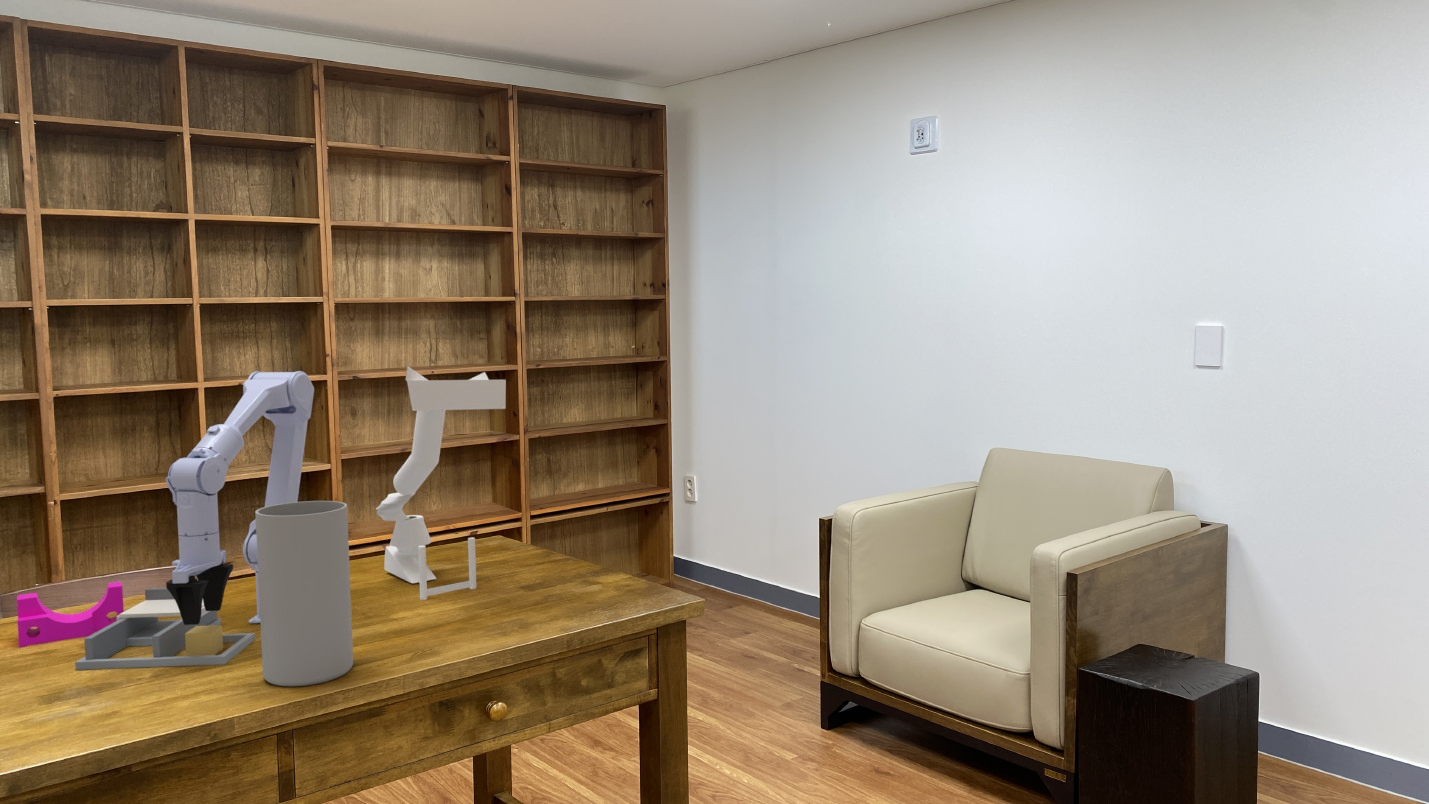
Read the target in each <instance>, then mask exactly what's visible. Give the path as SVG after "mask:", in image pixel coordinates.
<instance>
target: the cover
mask: <svg viewBox="0 0 1429 804" xmlns="http://www.w3.org/2000/svg"><path fill="white" fill-rule="evenodd" d="M144 596H145V600H144V601H141V602H140V603H138V604H135V605H134V606H131V607H130V608H128V609H126V610H124V612H123V613H121V614H119V615H118V616H117V621H118V620H119V619H121V618H136V617H158V618H159V617H161V618H162V617H164V618H165V617H181V614H180V611H179V608H178V605H177V603H176V601H175V599H174V597H173V596H172V594H171V593H170V592H169V590H168V589H167V588H166V587H148V588H146V589H144ZM208 612H210V611H206V610H205V607H204V602H203V600H202V610H201V617H202V616H204V615H205V614H207V613H208Z"/></svg>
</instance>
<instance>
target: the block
mask: <svg viewBox="0 0 1429 804" xmlns="http://www.w3.org/2000/svg"><path fill="white" fill-rule="evenodd" d="M223 634H224V633H223V625H222V624H220V625H212V626H196V627H194V628H193V629H191V630H190V631H188V632H187V633H185V643H186V647H185V656H203V655H218V653H219V652H220V651H222V650H223V649H224V643H223Z"/></svg>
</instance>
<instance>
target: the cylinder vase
mask: <svg viewBox="0 0 1429 804" xmlns="http://www.w3.org/2000/svg"><path fill="white" fill-rule="evenodd" d="M254 514H255V519H256V537H257V558H258V580H259V601H260V623H259V624H260V638H261V639H260V640H261V660H262V661H261V663H262V665H261V666H262V675H263V679H264V680H265V681H267V682H268V683H269V684H272V685H276V686H279V687H280V686H281V687H306V686H312V685H318V684H322V683H327V682H330V681H334V680H335V679H337V678H340V677H343V676H344V675H346V674H347V673H348V672H349V671H350V670H351V669H352V667H353V665H354V648H353V647H354V646H353V642H354V641H353V623H352V621H353V620H352V619H353V616H352V600H351V599H352V598H351V595H352V594H351V574H350V571H351V569H350V547H349V522H348V516H349V515H348V504H347V503H345V502H342V501H335V500H311V501H310V500H308V501H305V500H304V501H297V502H293V503H284V504H278V505H272V506H267V507H265V506H264V507H261V508H258V509H256V510H255V513H254Z"/></svg>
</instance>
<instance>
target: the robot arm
mask: <svg viewBox="0 0 1429 804" xmlns="http://www.w3.org/2000/svg"><path fill="white" fill-rule="evenodd" d="M242 391H243V392H242V397H241V398H240V399H239V400H238V402H237V404H236V405H235V407H234V408H233V410H232V411H231V412H230V414H229V416H228V417H227V419H226V420H225V421H224V423H223V424H222V423H219V424H214V425H212V426H209V428H208V429H207V430H206V433H205V435H204V436H203V437H202V438H201V440H199V442H198V443H197V445H196V446H195V447H194V448H193V449H192V450H191V451H190V453H189V454H188V455H187V457H182V458H178V459H177V460H176V461H174V462H173V463H172V464H171V465H170V467H169V470H168V473H167V477H165V482H166V485H167V487H168V489H169V490H170V493H172V494H171V495H172V502H173V503H174V505H176V511H177V512H176V513H177V516H176V517H177V532H178V533H177V535H178V551H179V553H178V555H179V559H176V560H173V561H172V562H171V565H172V567H175V569H174V570H172V571H171V572H172V574H171V577H172V578H171V579H170V580H167V581H166V582H165V586H166V587H165V588H167V589H168V590H169V592H170V593H171V594H172V596H173V597H174V599H175V601H176V603H177V605H178V608H179V611H180V614H181V616H180V617H181V618H182V620H183V623H184V625H197V624H199V623H200V619H201V610H202V600H203V602H204V607H205V610H206V611H217V612H219V611H221V610H222V609H221V608H222V604H223V600H224V596H225V590H226V585H227V583H228V581H229V578H230V575H231V573H232V572H233V569H234V565H233V564H232V563H226V562H227V551H226V550H223V549H221V546H220V544H221V543H220V529H219V528H220V526H219V506H218V505H219V503H218V502H219V501H218V500H219V499H218V492H219V491H221V489H223V487H224V486H225V483H226V478H227V477H226V476H227V473H228V471H229V470H228V469H229V466H230V464H231V463H232V462H233V460H234V459H235V458H236V456H237V455H238V454H239V453H240V451H241V450H243V448H244V445H245V439H244V438H243V437H244V435H245V434H246V433H247V432H248V431H249V430H250V429H251V428H252V426H254V425H255V423H257V421H259V420H260V418H261V417H262V416H263V417H264V418H265V419H267V420H270V421H271V422H272V424H273V425H274V436H273V441H272V442H273V443H272V450H271V456H270V457H271V458H270V465H269V472H268V480H267V485H266V486H267V487H266V493H265V502H264V507H267V506H272V505H278V504H284V503H293V502H299V501H298V499H299V493H300V491H299V490H300V486H301V485H300V483H301V476H302V470H303V469H302V468H303V462H304V453H305V446H306V438H307V430H308V421H309V420H310V419H311V417H312V416H311V415H312V410H313V400H314V394H315V387H314V385H313V383H312V381H311V379H310V377H309V375H308V374H307V373H306V372H304V371H302V370H297V371H281V372H280V371H269V372H268V371H267V372H266V371H254V372H252V373H251V374H250V375H249V376H248V378H247V380H245V381H244V382H243V385H242ZM242 555H243V558H244V560H245V562H246V563H247V564H248V565H250V568H251V571H255V591H256V592H255V593H256V613H257V614H255V615H254V616H253V617H252V618H250V619H249V620H248V624H261V623H260V601H259V580H258V558H257V537H256V518H255V519H254V520H252V521H251V522H250V524H249V529H248V534H247V536H246V538H245V539H244V542H243V546H242Z"/></svg>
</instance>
